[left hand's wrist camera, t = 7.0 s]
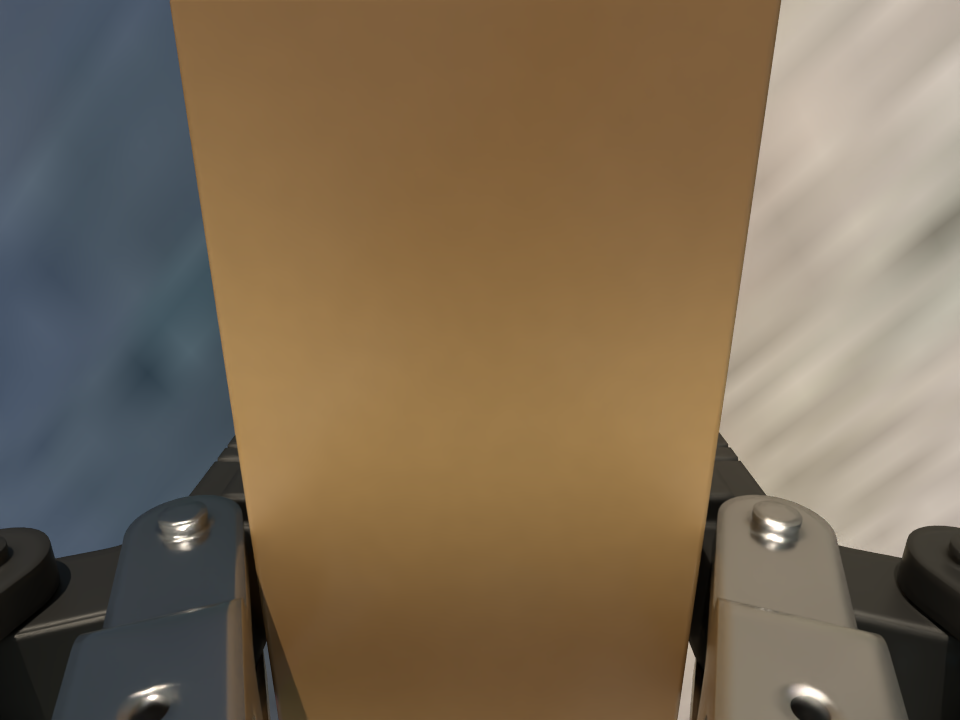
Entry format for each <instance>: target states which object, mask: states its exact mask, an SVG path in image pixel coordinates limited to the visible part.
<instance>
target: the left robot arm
mask: <svg viewBox="0 0 960 720" xmlns="http://www.w3.org/2000/svg"><path fill="white" fill-rule="evenodd" d="M266 641H267V639H266V632H265V626H264V619H263V612H262V606H261V599H260V593H259V586H258V580H257V573H256V566H255V560H254V553H253V547H252V540H251V533H250V527H249V520H248V514H247V507H246V500H245V494H244V487H243V481H242V474H241V468H240V461H239V454H238V448H237V441H236V435H235V436H234V437H233V439H232V440H231V441H230V443H229V444H228V448H225V449H224V451H223V452H222V453H221V455H220V456H219V457H218V462H214V464H213V465H212V466H211V468H210V469H209V470H208V472H207V473H206V474H205V476H204V477H203V478H202V480H201V481H200V482H199V484H198V485H197V486H196V487H195V489H194V490H193V491H192V493H191V494H190V495H189V496H188V497H183V498H178V499H175V500H172V501H168V502H166V503H163V504H161V505H158V506H156V507H154V508H152V509H150V510H148V511H147V512H145V513H144V514H142V515H141V516H139V517H138V518H137V519H136V520H135V521H134V522H133V523H132V524H131V525H130V526H129V527H128V529H127V530H126V533H125V535H124V539H123V543H122V545H119V546H116V547H112V548H107V549H103V550H98V551H92V552H87V553H82V554H77V555H71V556H66V557H61V558H56V559H55V557H54V553H53V550H52V546H51V543H50V540H49V538H48V536H47V535H46V534H45V533H43V532H41V531H39V530H36V529H32V528H6V529H0V720H270V707H269V694H268V681H267V672H266V665H265V659H264V652H263V649H264V646H265V644H266ZM689 643H690V645H691V648H692V650H693V653H694V655H695V657H696V659H695V665H694V672H693V682H692V694H691V707H690V720H960V528H957V527H949V526H927V527H922V528H918V529H916V530H914V531H913V532H912V533H911V534H910V535H909V537H908V539H907V542H906V546H905V549H904V553H903V556H902V558H899V557H894V556H889V555H883V554H878V553H873V552H868V551H862V550H857V549H852V548H847V547H843V546H839V545H838V543H837V538H836V535H835V532H834V530H833V529H832V527H831V526H830V525H829V524H828V523H827V522H826V521H825V520H824V519H823V518H822V517H821V516H819V515H818V514H816V513H815V512H813V511H812V510H810V509H808V508H806V507H804V506H802V505H799V504H797V503H794V502H792V501H788V500H785V499H782V498H777V497H772V496H766V494H765V493H764V492H763V490H762V489H761V488H760V486H759V485H758V484H757V482H756V481H755V480H754V478H753V477H752V476H751V474H750V473H749V472H748V470H747V469H746V468H745V466H744V465H743V464H742V462H741V461H738V457H737V456H736V454H735V453H734V452H733V450H732V449H731V448H730V447H728V444H727V442H726V441H725V440H724V438H723V437H722V435H721V434H720V433H719V434H718V441H717V448H716V455H715V462H714V469H713V476H712V483H711V490H710V497H709V504H708V510H707V517H706V524H705V531H704V538H703V545H702V552H701V559H700V566H699V573H698V580H697V587H696V594H695V600H694V607H693V614H692V621H691V628H690V635H689Z"/></svg>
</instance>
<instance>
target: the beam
mask: <svg viewBox="0 0 960 720" xmlns="http://www.w3.org/2000/svg"><path fill="white" fill-rule="evenodd" d="M780 5H781V0H170V6H171V13H172V19H173V26H174V33H175V39H176V46H177V52H178V59H179V65H180V72H181V79H182V85H183V92H184V98H185V105H186V112H187V118H188V125H189V131H190V138H191V145H192V151H193V158H194V164H195V171H196V178H197V184H198V191H199V197H200V204H201V210H202V217H203V224H204V230H205V237H206V243H207V250H208V257H209V263H210V270H211V276H212V283H213V290H214V296H215V303H216V309H217V316H218V323H219V329H220V336H221V342H222V349H223V355H224V362H225V369H226V375H227V382H228V388H229V395H230V402H231V408H232V415H233V421H234V428H235V435H236V441H237V448H238V454H239V461H240V468H241V474H242V481H243V487H244V494H245V500H246V507H247V514H248V520H249V527H250V533H251V540H252V547H253V553H254V560H255V566H256V573H257V580H258V586H259V593H260V599H261V606H262V612H263V619H264V626H265V632H266V639H267V645H268V652H269V659H270V665H271V672H272V678H273V685H274V692H275V698H276V705H277V711H278V718H279V720H677V718H678V711H679V704H680V697H681V690H682V684H683V677H684V670H685V663H686V656H687V649H688V642H689V635H690V628H691V621H692V614H693V607H694V600H695V594H696V587H697V580H698V573H699V566H700V559H701V552H702V545H703V538H704V531H705V524H706V517H707V510H708V504H709V497H710V490H711V483H712V476H713V469H714V462H715V455H716V448H717V441H718V434H719V427H720V420H721V414H722V407H723V400H724V393H725V386H726V379H727V372H728V365H729V358H730V351H731V344H732V337H733V330H734V324H735V317H736V310H737V303H738V296H739V289H740V282H741V275H742V268H743V261H744V254H745V247H746V240H747V234H748V227H749V220H750V213H751V206H752V199H753V192H754V185H755V178H756V171H757V164H758V157H759V150H760V144H761V137H762V130H763V123H764V116H765V109H766V102H767V95H768V88H769V81H770V74H771V67H772V60H773V54H774V47H775V40H776V33H777V26H778V19H779V12H780Z"/></svg>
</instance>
